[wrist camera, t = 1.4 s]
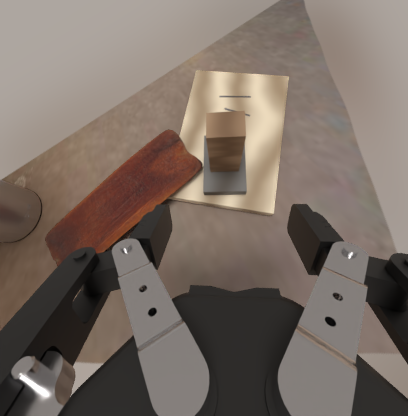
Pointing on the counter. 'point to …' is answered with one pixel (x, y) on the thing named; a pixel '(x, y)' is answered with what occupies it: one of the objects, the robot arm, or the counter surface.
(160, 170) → the wooden tablet
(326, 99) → the counter surface
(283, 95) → the birch board
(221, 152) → the block
